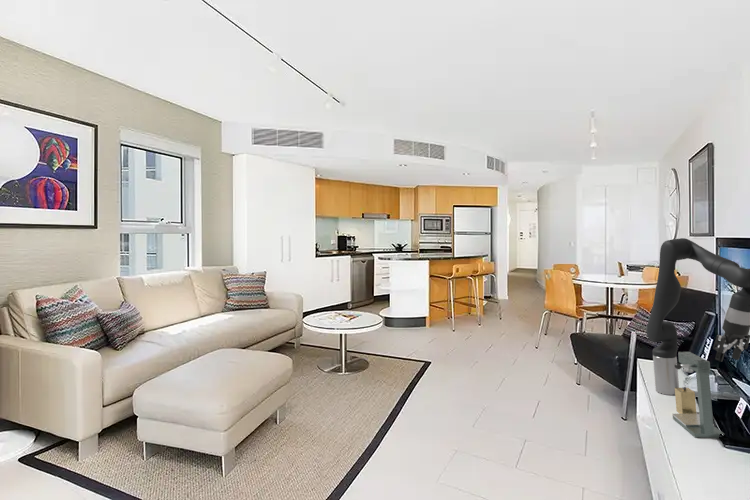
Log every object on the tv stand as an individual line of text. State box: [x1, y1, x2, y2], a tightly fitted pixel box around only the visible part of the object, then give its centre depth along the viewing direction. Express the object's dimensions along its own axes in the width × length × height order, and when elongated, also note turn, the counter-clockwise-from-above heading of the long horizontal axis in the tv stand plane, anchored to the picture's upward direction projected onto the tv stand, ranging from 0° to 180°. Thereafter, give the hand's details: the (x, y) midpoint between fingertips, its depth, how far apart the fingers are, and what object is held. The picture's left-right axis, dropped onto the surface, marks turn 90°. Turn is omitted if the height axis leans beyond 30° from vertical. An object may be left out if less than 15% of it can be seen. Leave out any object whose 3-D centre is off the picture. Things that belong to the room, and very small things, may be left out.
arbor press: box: [672, 351, 725, 439], centre depth 158 cm, size 16×13×28 cm
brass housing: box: [674, 386, 697, 414], centre depth 170 cm, size 5×5×11 cm
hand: (726, 359), depth 156 cm, fingers open, 8 cm apart
